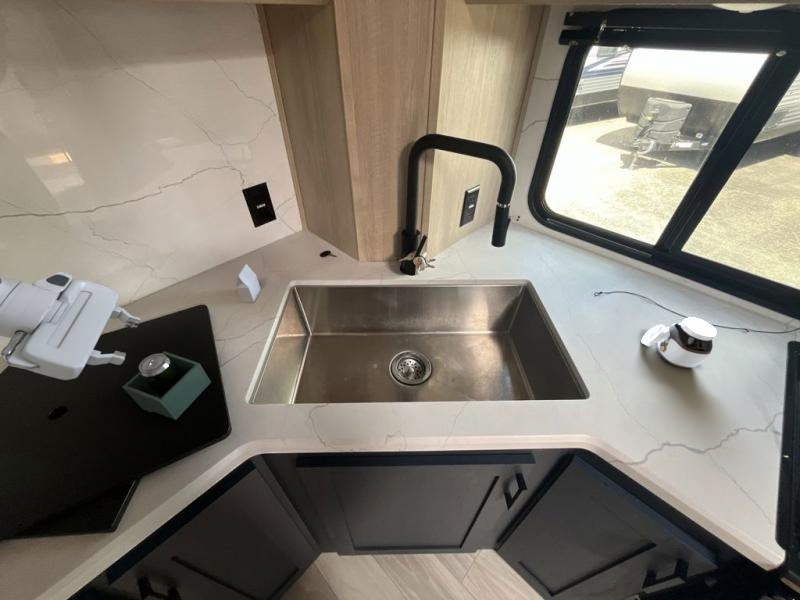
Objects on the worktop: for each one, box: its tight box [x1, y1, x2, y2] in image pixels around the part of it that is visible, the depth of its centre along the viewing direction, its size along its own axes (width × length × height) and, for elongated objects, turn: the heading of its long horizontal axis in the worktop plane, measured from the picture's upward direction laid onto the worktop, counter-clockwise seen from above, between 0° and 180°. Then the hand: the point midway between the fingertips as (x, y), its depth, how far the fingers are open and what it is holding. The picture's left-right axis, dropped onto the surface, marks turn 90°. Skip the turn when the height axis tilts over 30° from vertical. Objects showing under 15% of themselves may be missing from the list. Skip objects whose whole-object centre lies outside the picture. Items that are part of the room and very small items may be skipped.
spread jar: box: [641, 316, 718, 369], centre depth 84 cm, size 12×11×12 cm
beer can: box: [138, 353, 182, 398], centre depth 70 cm, size 5×5×12 cm
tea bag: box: [235, 263, 262, 304], centre depth 99 cm, size 4×7×10 cm, turn 1°
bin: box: [121, 350, 212, 421], centre depth 72 cm, size 10×10×9 cm
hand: (131, 340), depth 61 cm, fingers open, 8 cm apart
